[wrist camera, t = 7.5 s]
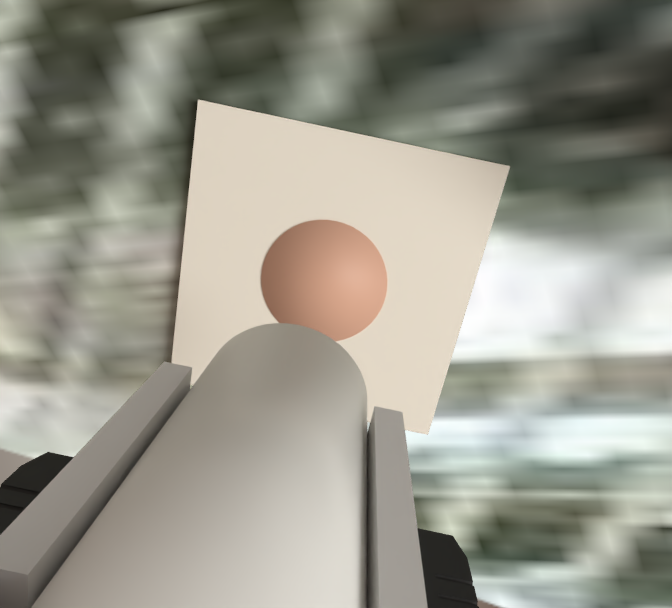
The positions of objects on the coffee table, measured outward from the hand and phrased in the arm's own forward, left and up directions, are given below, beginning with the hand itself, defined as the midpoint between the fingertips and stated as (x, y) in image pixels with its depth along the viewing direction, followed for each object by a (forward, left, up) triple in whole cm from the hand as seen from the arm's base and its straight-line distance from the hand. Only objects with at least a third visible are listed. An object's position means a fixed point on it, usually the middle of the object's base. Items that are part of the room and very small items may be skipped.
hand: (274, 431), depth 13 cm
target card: (0, 0, -15) cm, 15 cm away
